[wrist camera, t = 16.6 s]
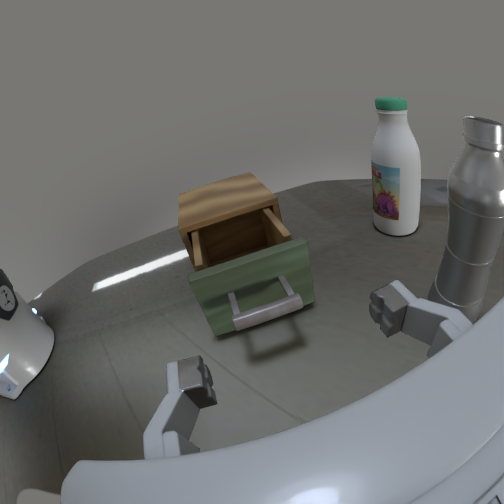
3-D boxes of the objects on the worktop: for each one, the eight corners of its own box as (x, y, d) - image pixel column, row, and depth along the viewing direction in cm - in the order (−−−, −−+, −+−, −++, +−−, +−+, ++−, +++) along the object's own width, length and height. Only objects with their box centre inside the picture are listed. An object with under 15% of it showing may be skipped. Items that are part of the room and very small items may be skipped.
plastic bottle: (412, 323, 24) (434, 115, 13) (439, 288, 26) (457, 111, 15) (459, 352, 19) (519, 135, 8) (481, 311, 21) (521, 126, 11)
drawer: (332, 329, 25) (330, 267, 21) (222, 369, 24) (192, 315, 20) (276, 244, 40) (266, 196, 36) (202, 269, 39) (184, 222, 35)
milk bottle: (406, 211, 42) (402, 96, 31) (425, 233, 35) (427, 100, 25) (367, 216, 43) (356, 97, 32) (382, 240, 37) (375, 99, 26)
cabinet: (289, 260, 38) (277, 197, 33) (203, 289, 37) (178, 229, 32) (261, 220, 50) (249, 171, 45) (196, 241, 49) (178, 194, 44)
